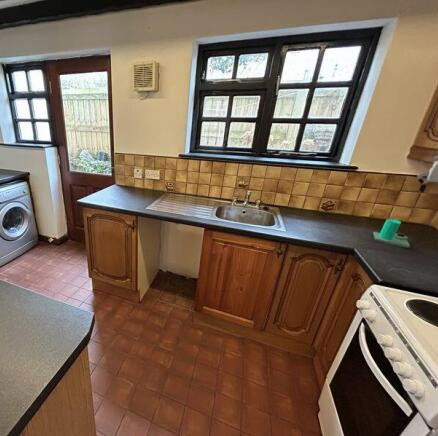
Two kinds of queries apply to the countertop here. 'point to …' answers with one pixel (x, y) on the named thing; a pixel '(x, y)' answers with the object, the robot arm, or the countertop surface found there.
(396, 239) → the scale
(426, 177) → the robot arm
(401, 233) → the tare button
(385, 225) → the candle
